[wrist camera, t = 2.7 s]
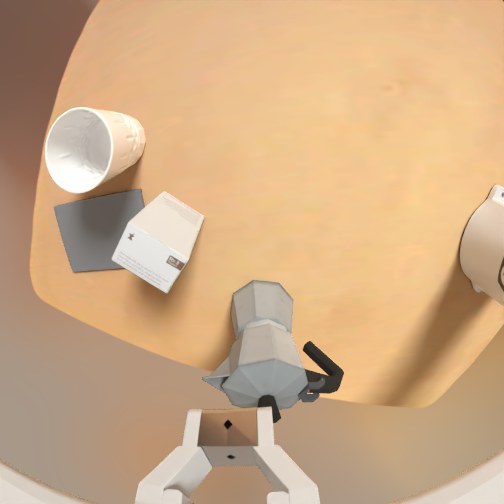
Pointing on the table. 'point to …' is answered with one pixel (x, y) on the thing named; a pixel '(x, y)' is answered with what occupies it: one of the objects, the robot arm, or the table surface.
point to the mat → (96, 228)
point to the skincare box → (159, 241)
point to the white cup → (91, 147)
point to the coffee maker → (269, 354)
